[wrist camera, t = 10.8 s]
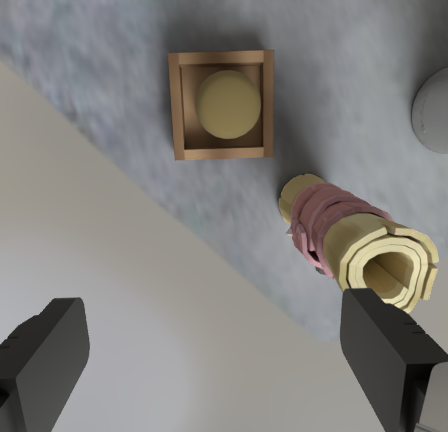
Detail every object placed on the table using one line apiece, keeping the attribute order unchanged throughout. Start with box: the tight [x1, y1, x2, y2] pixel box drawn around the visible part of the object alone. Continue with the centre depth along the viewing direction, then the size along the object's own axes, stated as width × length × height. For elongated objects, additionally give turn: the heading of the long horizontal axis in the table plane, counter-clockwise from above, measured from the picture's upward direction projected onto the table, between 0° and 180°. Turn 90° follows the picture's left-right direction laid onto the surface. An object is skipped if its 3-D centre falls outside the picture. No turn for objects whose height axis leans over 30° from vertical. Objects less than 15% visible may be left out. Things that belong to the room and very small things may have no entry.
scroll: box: [279, 174, 439, 313], centre depth 32 cm, size 8×8×20 cm
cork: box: [195, 70, 261, 139], centre depth 32 cm, size 6×6×11 cm
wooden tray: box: [168, 50, 274, 160], centre depth 37 cm, size 10×10×3 cm
